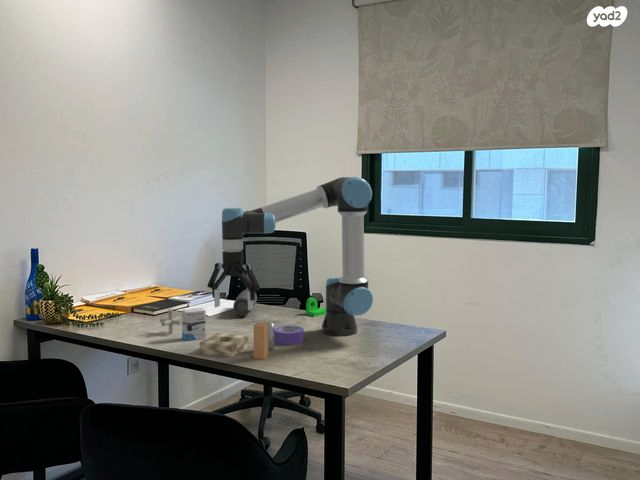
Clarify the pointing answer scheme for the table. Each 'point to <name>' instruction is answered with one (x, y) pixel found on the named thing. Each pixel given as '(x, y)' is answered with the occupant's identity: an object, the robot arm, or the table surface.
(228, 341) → the socket block
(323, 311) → the mechanical part
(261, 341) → the square bit
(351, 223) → the robot arm
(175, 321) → the pipe connector
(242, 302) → the bluetooth speaker
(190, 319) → the ink box
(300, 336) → the tape roll
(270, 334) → the round bit
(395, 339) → the table surface
